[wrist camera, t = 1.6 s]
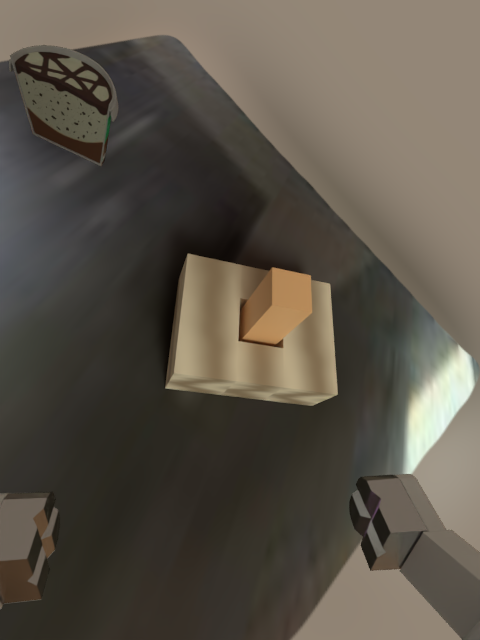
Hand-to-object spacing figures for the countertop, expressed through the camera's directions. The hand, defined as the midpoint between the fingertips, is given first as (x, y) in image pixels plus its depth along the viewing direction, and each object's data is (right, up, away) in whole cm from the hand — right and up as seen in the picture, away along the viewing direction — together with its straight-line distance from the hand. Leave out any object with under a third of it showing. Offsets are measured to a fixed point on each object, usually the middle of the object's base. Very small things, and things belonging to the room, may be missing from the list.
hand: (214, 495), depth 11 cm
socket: (+1, +2, +38) cm, 38 cm away
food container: (-21, +30, +43) cm, 56 cm away
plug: (+1, +2, +38) cm, 38 cm away
